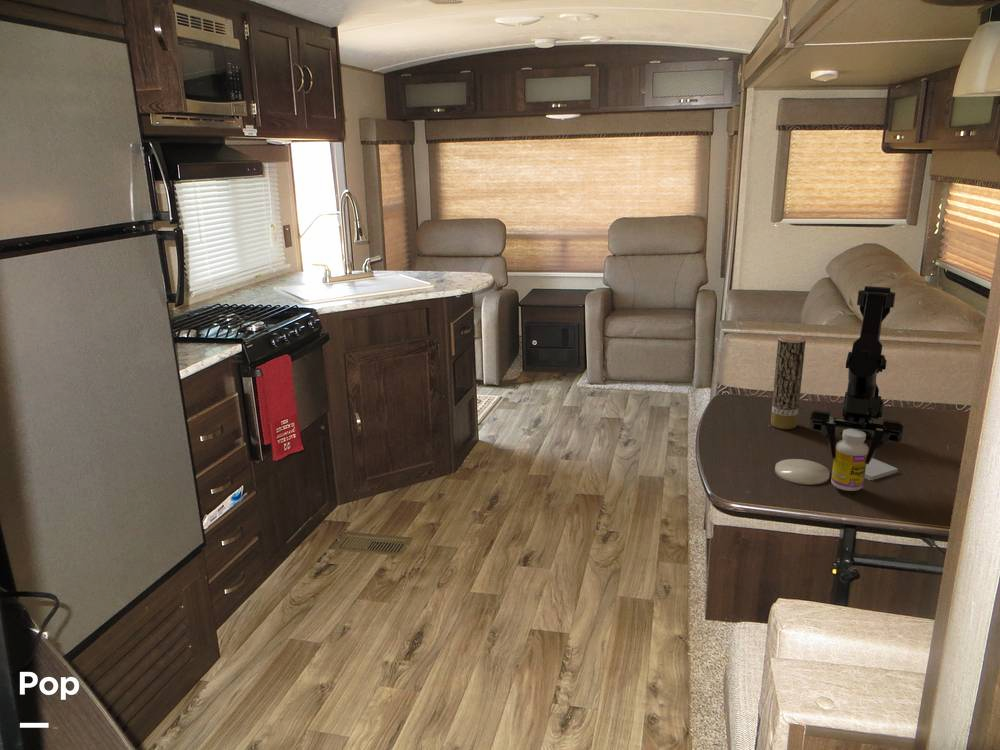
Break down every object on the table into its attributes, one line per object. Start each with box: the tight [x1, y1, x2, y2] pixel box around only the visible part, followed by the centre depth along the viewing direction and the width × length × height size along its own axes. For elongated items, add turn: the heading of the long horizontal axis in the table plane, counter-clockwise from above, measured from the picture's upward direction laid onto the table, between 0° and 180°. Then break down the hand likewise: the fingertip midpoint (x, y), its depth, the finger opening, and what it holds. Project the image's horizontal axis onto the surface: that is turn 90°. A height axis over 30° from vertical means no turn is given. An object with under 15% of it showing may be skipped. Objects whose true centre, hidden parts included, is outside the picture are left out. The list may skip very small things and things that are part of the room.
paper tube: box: [770, 333, 807, 430], centre depth 203 cm, size 7×7×25 cm
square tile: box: [864, 457, 899, 481], centre depth 180 cm, size 9×9×1 cm
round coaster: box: [774, 458, 831, 486], centre depth 179 cm, size 12×12×1 cm
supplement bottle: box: [830, 428, 870, 492], centre depth 168 cm, size 7×7×13 cm
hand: (850, 460), depth 167 cm, fingers closed on supplement bottle, 7 cm apart
